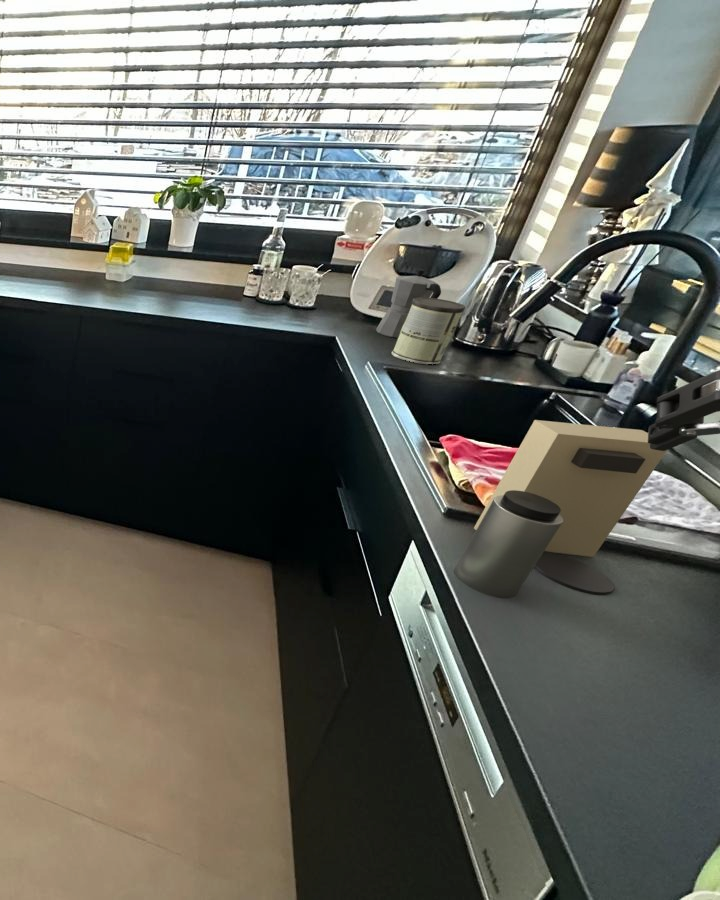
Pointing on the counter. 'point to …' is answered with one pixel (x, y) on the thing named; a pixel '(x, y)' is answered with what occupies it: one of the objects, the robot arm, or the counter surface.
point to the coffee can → (427, 330)
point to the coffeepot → (406, 301)
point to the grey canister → (508, 543)
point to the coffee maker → (580, 490)
